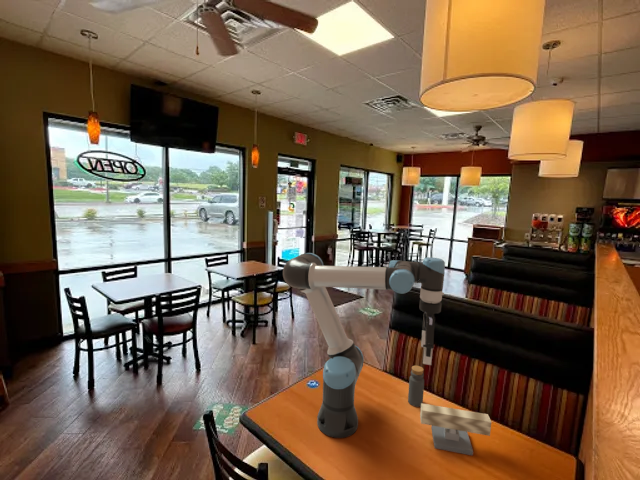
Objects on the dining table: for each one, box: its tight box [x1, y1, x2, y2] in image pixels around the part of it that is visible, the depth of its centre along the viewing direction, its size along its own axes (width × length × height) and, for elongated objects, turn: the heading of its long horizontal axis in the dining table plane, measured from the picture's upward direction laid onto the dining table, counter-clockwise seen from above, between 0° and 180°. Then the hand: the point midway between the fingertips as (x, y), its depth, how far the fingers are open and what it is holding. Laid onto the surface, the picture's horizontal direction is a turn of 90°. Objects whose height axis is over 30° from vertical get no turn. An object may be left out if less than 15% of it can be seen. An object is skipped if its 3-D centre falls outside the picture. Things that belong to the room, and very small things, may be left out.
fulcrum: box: [431, 425, 474, 456], centre depth 111 cm, size 12×10×6 cm
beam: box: [419, 403, 492, 437], centre depth 110 cm, size 22×4×5 cm, turn 77°
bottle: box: [407, 365, 425, 408], centre depth 131 cm, size 6×6×15 cm
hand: (425, 355), depth 118 cm, fingers open, 13 cm apart
